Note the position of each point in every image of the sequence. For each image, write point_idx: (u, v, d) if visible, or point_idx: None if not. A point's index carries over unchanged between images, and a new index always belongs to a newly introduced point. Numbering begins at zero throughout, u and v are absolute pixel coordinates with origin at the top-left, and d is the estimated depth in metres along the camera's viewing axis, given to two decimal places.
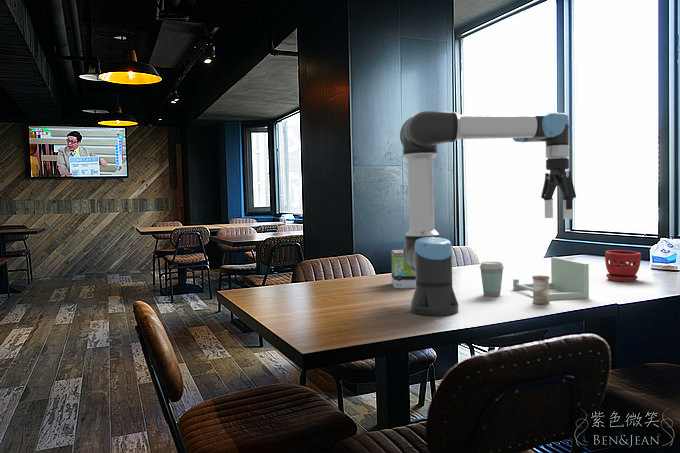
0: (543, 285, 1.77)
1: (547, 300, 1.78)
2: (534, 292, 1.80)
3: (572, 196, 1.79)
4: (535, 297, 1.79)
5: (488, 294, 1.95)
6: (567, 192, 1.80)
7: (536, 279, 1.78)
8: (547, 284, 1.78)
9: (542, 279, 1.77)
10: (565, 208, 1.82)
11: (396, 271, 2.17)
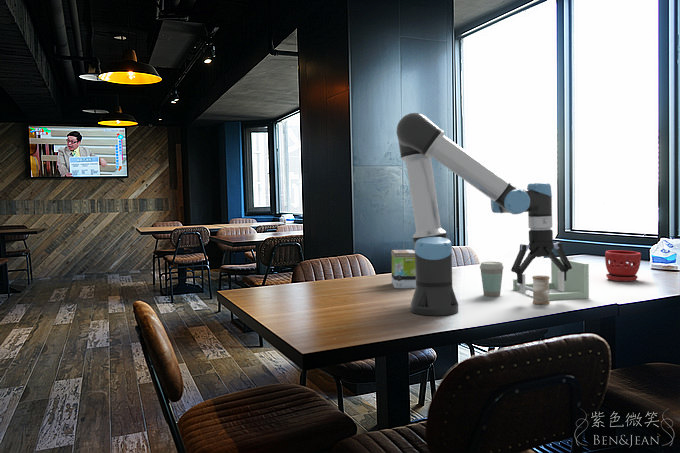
0: (543, 285, 1.77)
1: (547, 300, 1.78)
2: (534, 292, 1.80)
3: (512, 270, 1.79)
4: (535, 297, 1.79)
5: (488, 294, 1.95)
6: None
7: (536, 279, 1.78)
8: (547, 284, 1.78)
9: (542, 279, 1.77)
10: None
11: (396, 271, 2.17)
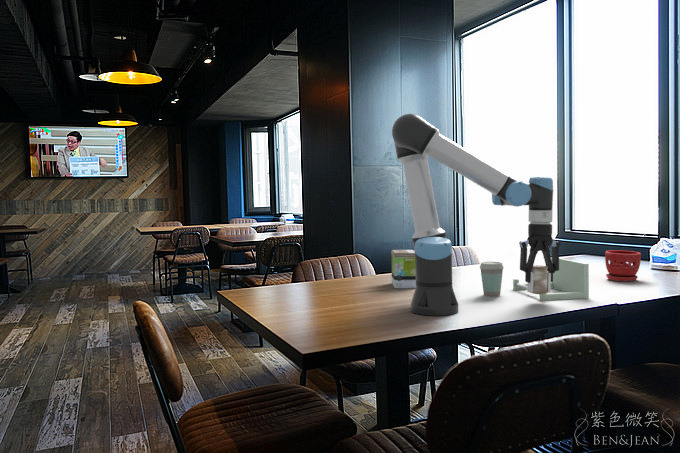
0: (542, 274, 1.77)
1: (545, 290, 1.78)
2: None
3: (521, 270, 1.79)
4: (533, 286, 1.79)
5: (488, 294, 1.95)
6: None
7: (534, 268, 1.78)
8: (545, 274, 1.78)
9: (540, 269, 1.77)
10: None
11: (396, 271, 2.17)
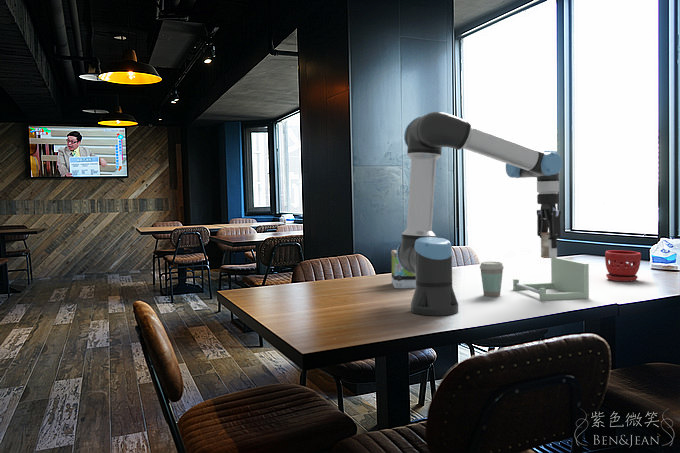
0: None
1: None
2: None
3: (557, 237, 1.90)
4: None
5: (488, 294, 1.95)
6: (553, 232, 1.90)
7: None
8: None
9: None
10: (550, 247, 1.93)
11: (396, 271, 2.17)
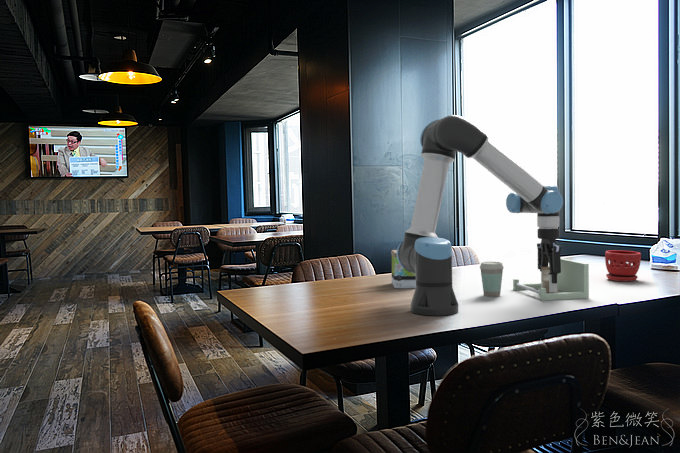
0: None
1: None
2: None
3: (557, 272, 1.91)
4: None
5: (488, 294, 1.95)
6: (553, 267, 1.91)
7: None
8: None
9: None
10: (551, 282, 1.94)
11: (396, 271, 2.17)
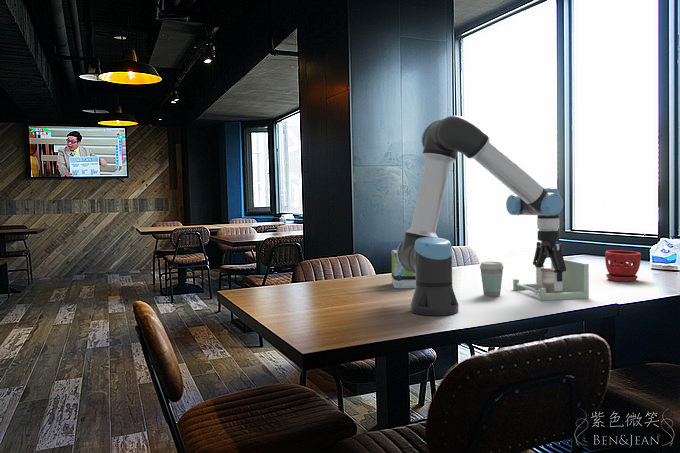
0: None
1: None
2: (552, 284, 1.95)
3: (562, 270, 1.87)
4: None
5: (488, 294, 1.95)
6: (558, 265, 1.88)
7: None
8: None
9: None
10: (556, 280, 1.90)
11: (396, 271, 2.17)
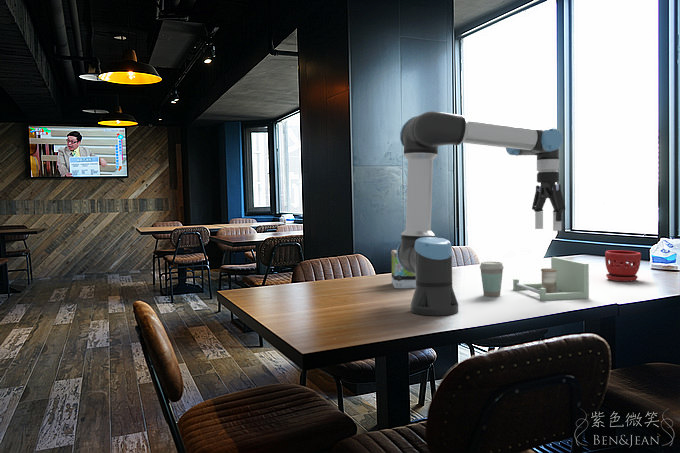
0: None
1: None
2: (552, 284, 1.95)
3: (562, 209, 1.86)
4: (554, 288, 1.95)
5: (488, 294, 1.95)
6: (557, 205, 1.87)
7: (555, 271, 1.95)
8: None
9: None
10: (555, 220, 1.89)
11: (396, 271, 2.17)
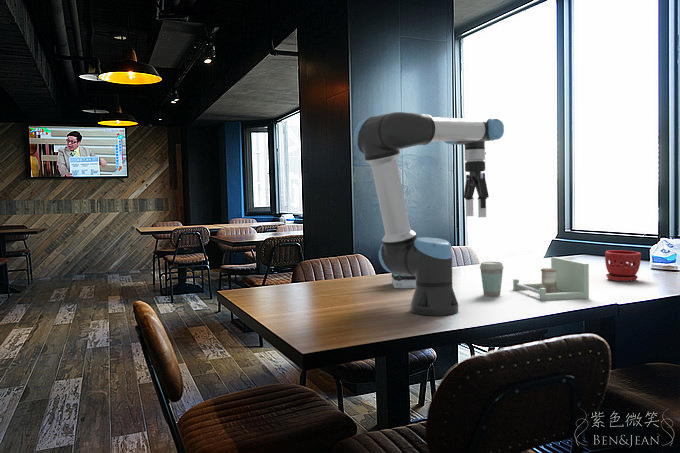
0: None
1: None
2: (552, 284, 1.95)
3: (485, 196, 1.95)
4: (554, 288, 1.95)
5: (488, 294, 1.95)
6: (481, 192, 1.96)
7: (555, 271, 1.95)
8: None
9: None
10: (480, 207, 1.98)
11: None
